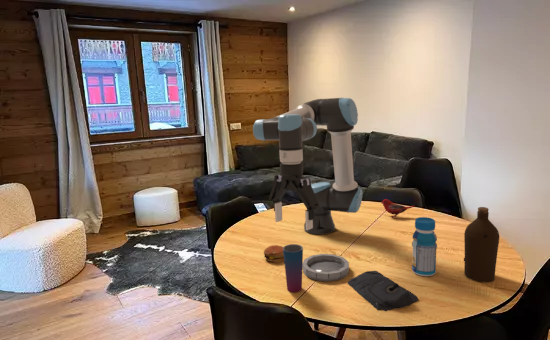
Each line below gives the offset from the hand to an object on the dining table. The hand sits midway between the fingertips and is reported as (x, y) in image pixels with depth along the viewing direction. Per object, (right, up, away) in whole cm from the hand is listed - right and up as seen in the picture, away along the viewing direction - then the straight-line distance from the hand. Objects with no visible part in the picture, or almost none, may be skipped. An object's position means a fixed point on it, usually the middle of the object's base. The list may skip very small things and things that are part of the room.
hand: (293, 224), depth 126 cm
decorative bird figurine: (+59, -7, +74) cm, 95 cm away
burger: (-6, -18, +30) cm, 36 cm away
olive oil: (+66, -19, +7) cm, 69 cm away
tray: (+13, -20, +16) cm, 29 cm away
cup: (+1, -23, +4) cm, 23 cm away
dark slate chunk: (+29, -23, 0) cm, 37 cm away
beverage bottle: (+48, -19, +12) cm, 53 cm away
